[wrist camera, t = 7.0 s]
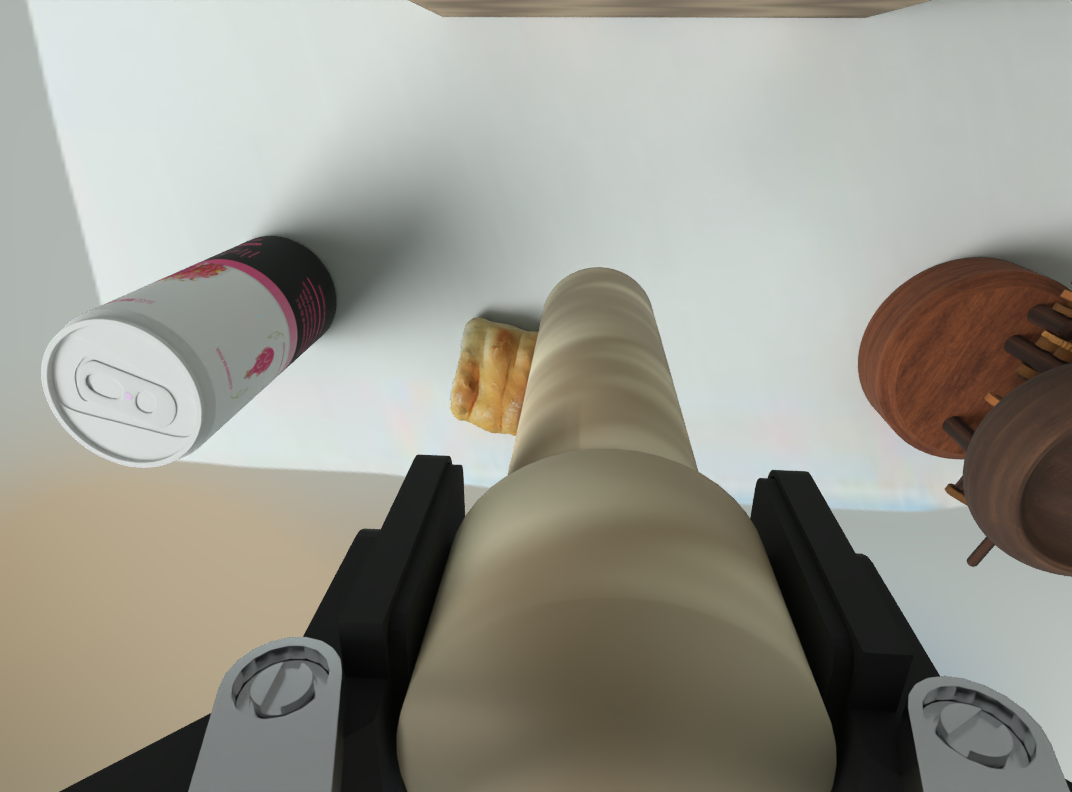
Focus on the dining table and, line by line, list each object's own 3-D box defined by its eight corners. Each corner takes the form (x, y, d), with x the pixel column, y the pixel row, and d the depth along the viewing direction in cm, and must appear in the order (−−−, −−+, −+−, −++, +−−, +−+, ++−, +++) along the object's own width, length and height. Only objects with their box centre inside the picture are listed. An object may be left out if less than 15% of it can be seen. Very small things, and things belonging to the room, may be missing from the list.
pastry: (624, 341, 40) (626, 366, 36) (597, 441, 42) (597, 473, 39) (465, 307, 39) (452, 330, 36) (449, 410, 42) (436, 439, 39)
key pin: (679, 250, 21) (879, 612, 6) (665, 392, 23) (796, 918, 8) (523, 246, 21) (378, 583, 7) (523, 387, 23) (410, 885, 9)
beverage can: (242, 215, 38) (45, 285, 24) (353, 263, 39) (222, 357, 25) (218, 318, 41) (28, 433, 27) (322, 361, 41) (188, 495, 28)
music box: (914, 201, 35) (1325, 337, 17) (1103, 251, 36) (1676, 428, 18) (796, 453, 41) (1005, 748, 23) (960, 488, 42) (1281, 796, 24)
